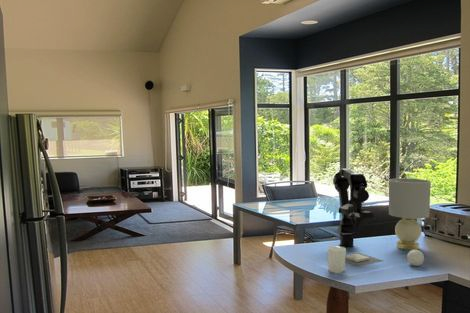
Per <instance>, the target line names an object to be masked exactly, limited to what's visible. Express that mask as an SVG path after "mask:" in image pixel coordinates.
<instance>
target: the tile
mask: <svg viewBox="0 0 470 313" xmlns="http://www.w3.org/2000/svg"><path fill="white" fill-rule="evenodd" d="M351 254H352V255H351ZM351 254H346V258H347V259H350V260H353V261H356V262H360V261H365V260H370V257H366V256H363V255H360V254H356V253H351Z"/></svg>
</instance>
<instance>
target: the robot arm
mask: <svg viewBox="0 0 470 313" xmlns="http://www.w3.org/2000/svg"><path fill="white" fill-rule="evenodd" d="M332 182H333V183H332V184H333V185H334V188H335V190H336V191H337V192H338V196H339V197H338V198H339V204H340V206H339V207H338V213H339V214H341V220H340V222H339V226H338V228H337V235H338V236H340V241H339V242H340V243H339V244H338V246H339V247H344V248H346V249H347V248H353V247H355V245H354V237H357V233H358V232H357V231H358V228H359V226H360V224H361V222H362V220H364V219H374V216H375V215H374V212H373V211H370V210H364V208H363V204H364V203H365V202H366V201H368V199H369V198H370V194H369V192H368V191H367V190H366V188H368V182H367V179H366V176H365V174H364V173H363V172H354V170H351V168H340V169H339V171H338V172H337V173H335V174H334V176H333V179H332ZM349 188H350V190H349V191H350V194H349V193H348V189H349ZM349 196H350V197H349Z"/></svg>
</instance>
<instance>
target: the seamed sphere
mask: <svg viewBox="0 0 470 313" xmlns="http://www.w3.org/2000/svg"><path fill="white" fill-rule="evenodd" d="M406 258H407V259H406V260H407V261H408V263H409V264H410V265H411V266H414V267H419V266H421V265H422V264H423V263H424V262H425V256H424V254H423V252H422V251H420V250H419V249H417V250H409V251H408V253H407V255H406Z"/></svg>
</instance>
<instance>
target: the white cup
mask: <svg viewBox="0 0 470 313" xmlns="http://www.w3.org/2000/svg"><path fill="white" fill-rule="evenodd" d="M346 255H347V248H345V247H342V246H339V245H337V246H336V245H332V246H328V247H327V264H328V272H329V273H334V274H342V273H344V272H345V266H346V263H345V258H346Z"/></svg>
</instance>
